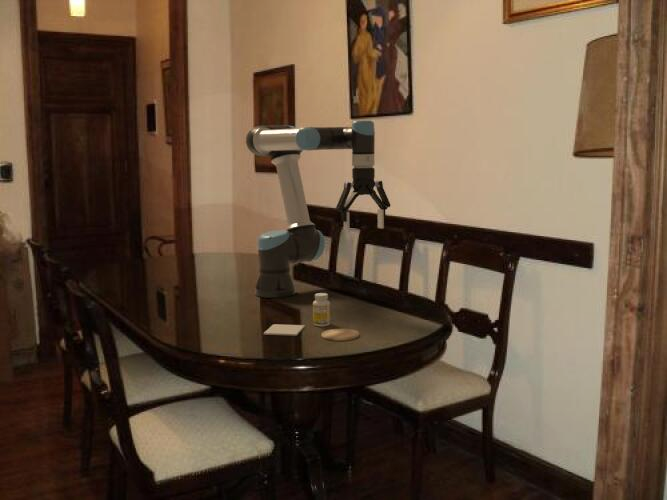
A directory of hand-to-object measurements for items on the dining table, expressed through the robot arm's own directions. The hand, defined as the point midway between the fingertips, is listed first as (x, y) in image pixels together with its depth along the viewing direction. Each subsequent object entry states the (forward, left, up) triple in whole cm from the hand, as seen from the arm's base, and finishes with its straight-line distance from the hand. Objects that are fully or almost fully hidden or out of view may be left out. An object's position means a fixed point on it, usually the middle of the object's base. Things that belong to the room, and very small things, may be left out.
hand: (363, 229), depth 236 cm
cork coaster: (+6, -39, -26) cm, 48 cm away
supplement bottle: (-4, -29, -26) cm, 40 cm away
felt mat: (-12, -39, -26) cm, 49 cm away
